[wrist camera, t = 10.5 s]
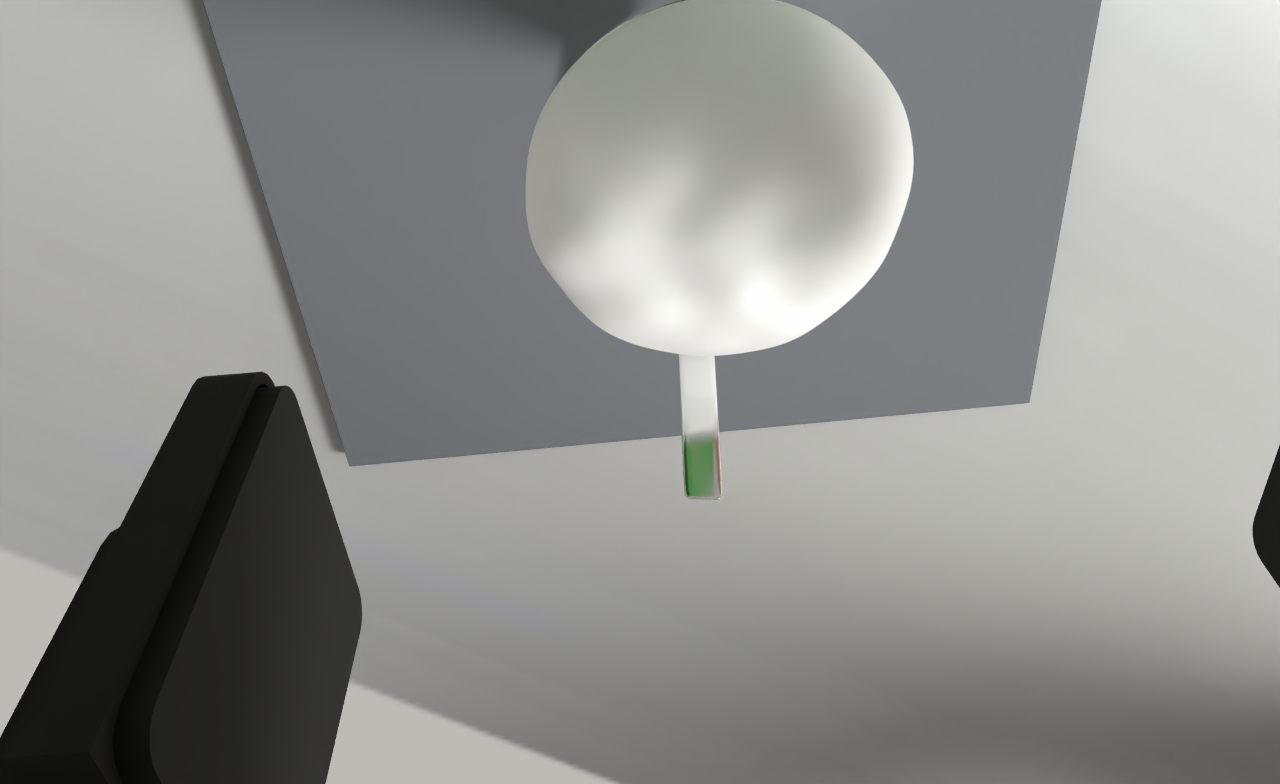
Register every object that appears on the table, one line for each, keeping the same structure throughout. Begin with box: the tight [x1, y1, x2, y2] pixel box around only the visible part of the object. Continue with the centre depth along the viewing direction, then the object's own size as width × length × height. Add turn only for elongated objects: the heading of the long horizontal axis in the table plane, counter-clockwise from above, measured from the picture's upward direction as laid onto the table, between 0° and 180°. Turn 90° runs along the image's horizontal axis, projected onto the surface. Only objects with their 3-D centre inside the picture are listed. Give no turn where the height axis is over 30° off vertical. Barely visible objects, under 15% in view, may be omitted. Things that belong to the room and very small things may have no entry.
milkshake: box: [526, 0, 914, 500], centre depth 16 cm, size 4×5×10 cm
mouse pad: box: [203, 0, 1101, 466], centre depth 20 cm, size 20×16×1 cm
